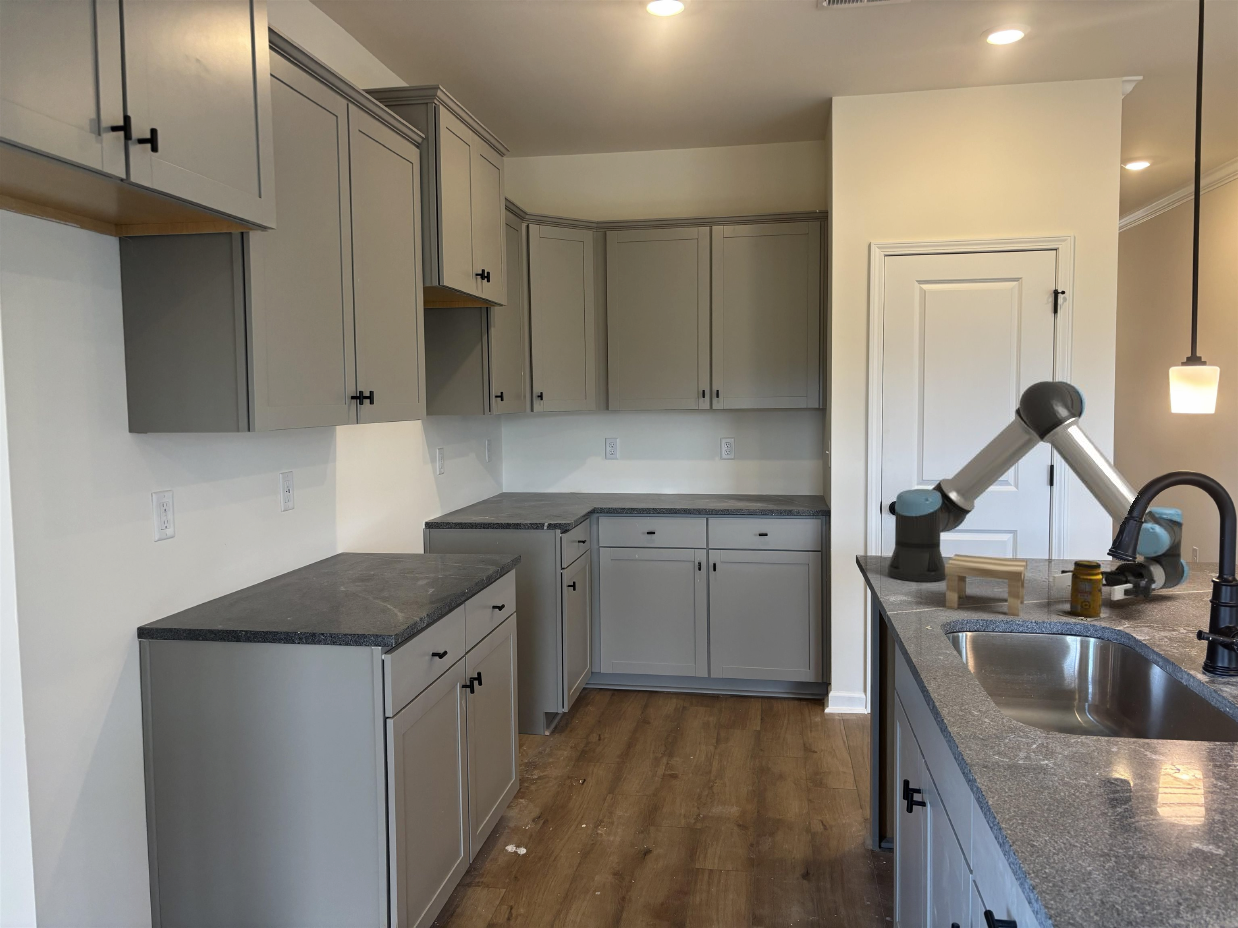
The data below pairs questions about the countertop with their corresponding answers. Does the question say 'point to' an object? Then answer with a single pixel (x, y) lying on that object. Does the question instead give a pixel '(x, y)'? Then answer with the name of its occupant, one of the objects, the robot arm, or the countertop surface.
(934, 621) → the countertop surface
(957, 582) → the stool
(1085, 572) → the condiment
